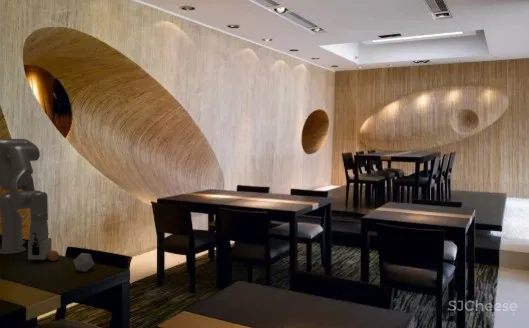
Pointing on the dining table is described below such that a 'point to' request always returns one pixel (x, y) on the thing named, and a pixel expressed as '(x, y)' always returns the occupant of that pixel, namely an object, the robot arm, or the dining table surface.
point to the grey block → (40, 249)
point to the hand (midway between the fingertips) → (40, 252)
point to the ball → (53, 255)
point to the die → (83, 262)
